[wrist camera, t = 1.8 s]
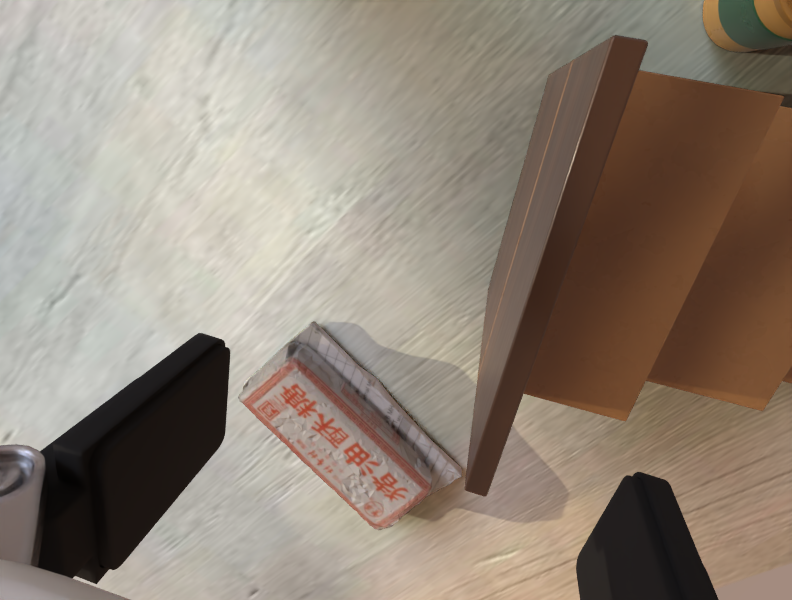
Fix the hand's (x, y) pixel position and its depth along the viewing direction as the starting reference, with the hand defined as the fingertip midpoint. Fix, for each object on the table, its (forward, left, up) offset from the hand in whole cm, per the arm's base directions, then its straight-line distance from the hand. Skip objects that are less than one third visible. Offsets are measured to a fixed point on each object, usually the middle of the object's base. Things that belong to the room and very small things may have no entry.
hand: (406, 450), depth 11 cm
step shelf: (-2, +13, -23) cm, 27 cm away
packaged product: (+20, -6, -23) cm, 31 cm away
